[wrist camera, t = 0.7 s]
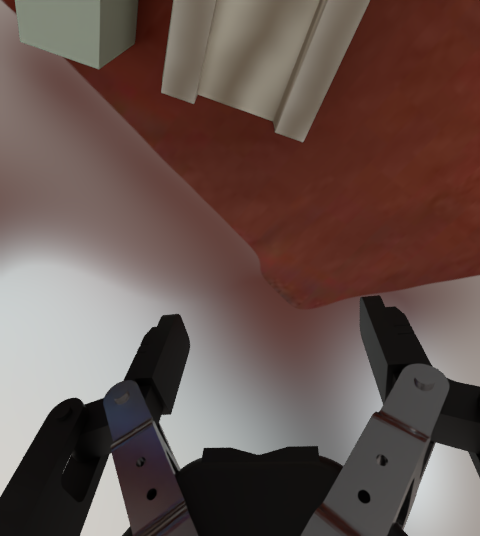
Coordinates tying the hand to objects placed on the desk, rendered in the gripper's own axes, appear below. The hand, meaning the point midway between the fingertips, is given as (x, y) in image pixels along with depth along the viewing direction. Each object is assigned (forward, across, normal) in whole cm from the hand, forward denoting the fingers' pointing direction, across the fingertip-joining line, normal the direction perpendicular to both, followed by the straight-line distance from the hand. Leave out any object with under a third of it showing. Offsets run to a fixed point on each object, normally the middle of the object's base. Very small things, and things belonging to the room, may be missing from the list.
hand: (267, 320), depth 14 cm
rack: (+24, -1, -13) cm, 28 cm away
